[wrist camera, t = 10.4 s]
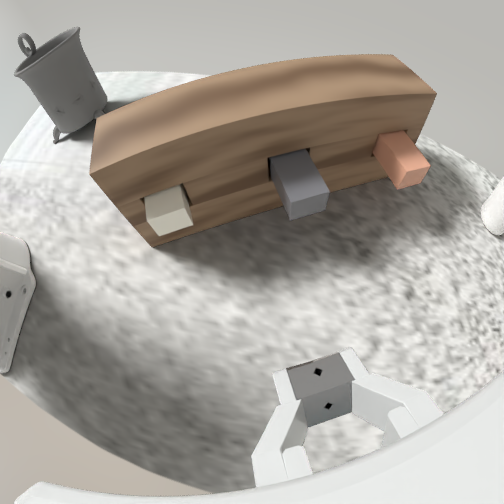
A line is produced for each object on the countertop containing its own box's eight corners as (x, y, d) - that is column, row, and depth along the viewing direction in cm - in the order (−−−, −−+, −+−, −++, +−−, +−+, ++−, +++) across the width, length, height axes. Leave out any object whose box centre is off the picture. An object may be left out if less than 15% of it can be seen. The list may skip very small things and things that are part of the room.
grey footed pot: (136, 99, 46) (92, -7, 23) (84, 154, 41) (13, 45, 18) (86, 95, 50) (44, 15, 27) (43, 140, 46) (-13, 61, 23)
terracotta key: (420, 183, 26) (430, 165, 24) (397, 189, 26) (406, 171, 23) (395, 146, 28) (402, 128, 26) (371, 151, 28) (377, 132, 26)
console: (400, 174, 33) (436, 93, 21) (152, 247, 32) (89, 174, 19) (371, 133, 37) (392, 54, 24) (145, 195, 35) (96, 118, 22)
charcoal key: (325, 210, 26) (329, 191, 23) (290, 220, 26) (291, 202, 23) (302, 167, 28) (304, 147, 25) (270, 175, 28) (269, 155, 25)
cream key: (193, 224, 26) (184, 207, 24) (159, 236, 26) (146, 220, 23) (183, 181, 29) (175, 163, 26) (153, 192, 28) (142, 175, 26)
